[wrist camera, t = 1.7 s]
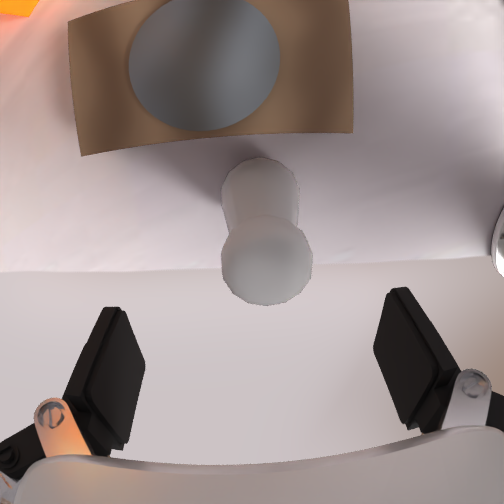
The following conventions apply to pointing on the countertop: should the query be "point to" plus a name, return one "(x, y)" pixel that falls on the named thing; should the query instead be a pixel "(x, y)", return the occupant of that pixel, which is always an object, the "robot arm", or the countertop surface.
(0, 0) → the orange juice
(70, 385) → the robot arm
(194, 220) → the countertop surface
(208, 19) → the walnut stand
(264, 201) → the salt shaker
